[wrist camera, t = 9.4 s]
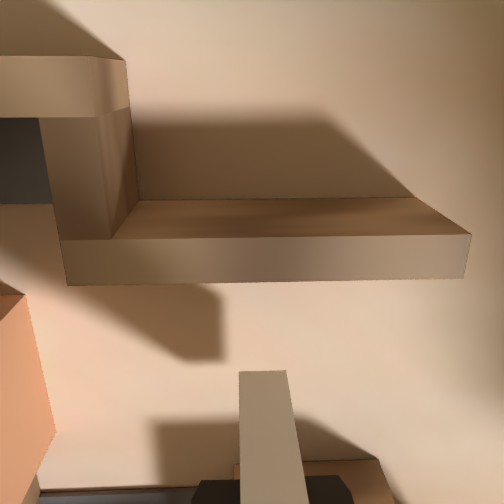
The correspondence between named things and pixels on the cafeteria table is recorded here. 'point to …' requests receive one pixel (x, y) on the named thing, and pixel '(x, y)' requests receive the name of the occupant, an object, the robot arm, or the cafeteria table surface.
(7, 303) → the block
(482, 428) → the cafeteria table surface
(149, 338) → the cafeteria table surface
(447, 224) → the trap lane
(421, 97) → the cafeteria table surface
